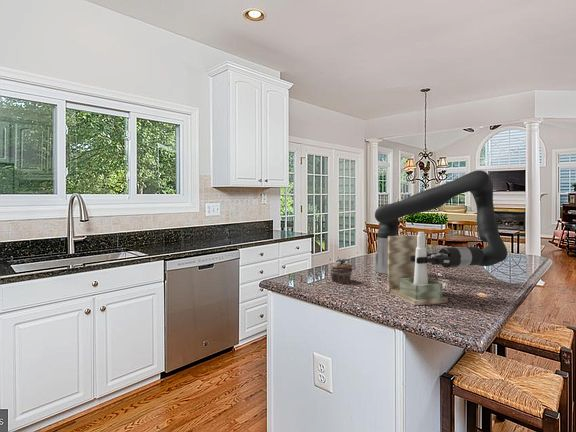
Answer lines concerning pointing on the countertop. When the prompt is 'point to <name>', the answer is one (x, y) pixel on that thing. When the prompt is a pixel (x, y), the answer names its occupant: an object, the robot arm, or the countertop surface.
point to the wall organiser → (409, 273)
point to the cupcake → (341, 271)
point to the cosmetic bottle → (421, 269)
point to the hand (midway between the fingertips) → (414, 259)
